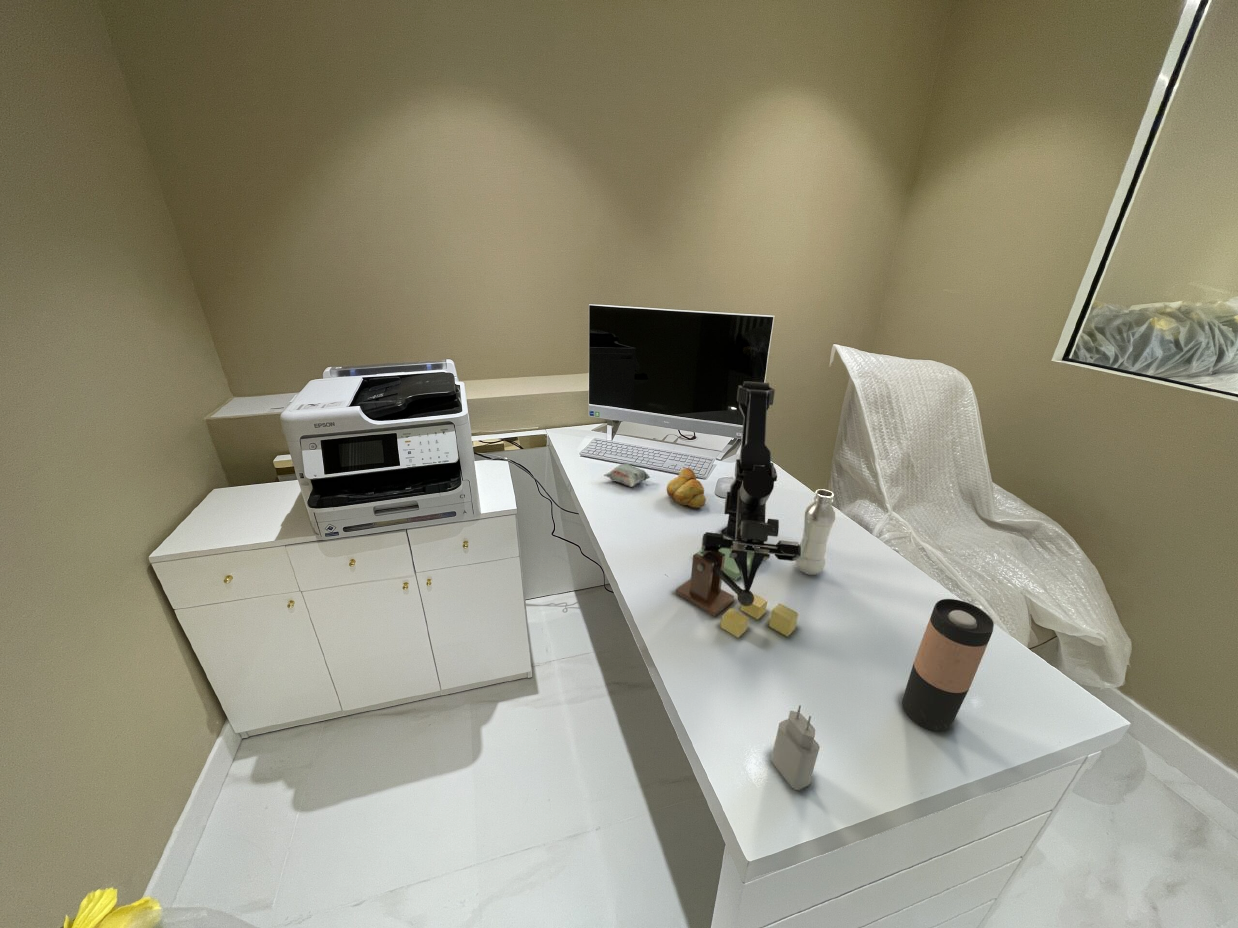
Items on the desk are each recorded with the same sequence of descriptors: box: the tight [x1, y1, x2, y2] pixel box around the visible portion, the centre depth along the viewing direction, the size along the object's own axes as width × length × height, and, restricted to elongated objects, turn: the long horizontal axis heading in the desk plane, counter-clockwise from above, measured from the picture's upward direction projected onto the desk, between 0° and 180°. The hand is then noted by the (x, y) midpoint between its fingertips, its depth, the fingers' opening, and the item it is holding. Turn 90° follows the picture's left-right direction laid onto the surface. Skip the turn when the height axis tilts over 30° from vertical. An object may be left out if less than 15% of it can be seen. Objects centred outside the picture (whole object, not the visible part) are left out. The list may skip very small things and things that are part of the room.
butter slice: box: [768, 603, 799, 637], centre depth 98 cm, size 3×4×4 cm
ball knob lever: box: [703, 552, 754, 606], centre depth 100 cm, size 13×3×3 cm, turn 46°
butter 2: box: [740, 593, 768, 620], centre depth 102 cm, size 3×4×3 cm
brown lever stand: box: [675, 549, 735, 617], centre depth 104 cm, size 10×7×11 cm
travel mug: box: [901, 598, 995, 732], centre depth 77 cm, size 8×8×20 cm
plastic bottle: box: [794, 488, 836, 576], centre depth 112 cm, size 6×7×20 cm
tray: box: [696, 535, 753, 581], centre depth 119 cm, size 11×11×2 cm
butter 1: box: [720, 607, 749, 638], centre depth 97 cm, size 3×4×3 cm
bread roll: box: [666, 467, 707, 508], centre depth 144 cm, size 13×10×8 cm
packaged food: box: [603, 463, 651, 488], centre depth 154 cm, size 9×12×5 cm
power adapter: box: [770, 704, 821, 791], centre depth 69 cm, size 3×5×12 cm, turn 25°
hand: (747, 590), depth 97 cm, fingers closed, pressing on ball knob lever
